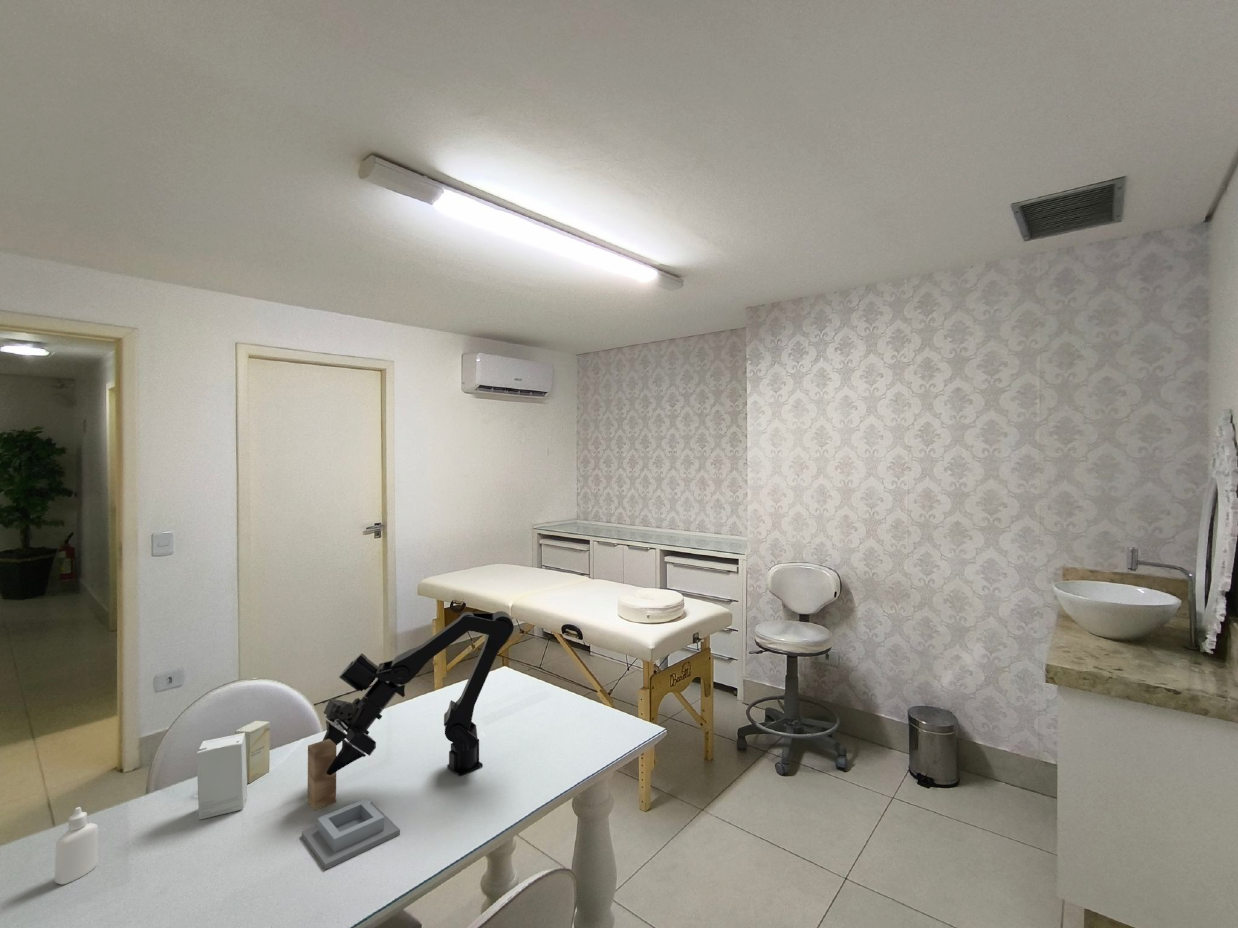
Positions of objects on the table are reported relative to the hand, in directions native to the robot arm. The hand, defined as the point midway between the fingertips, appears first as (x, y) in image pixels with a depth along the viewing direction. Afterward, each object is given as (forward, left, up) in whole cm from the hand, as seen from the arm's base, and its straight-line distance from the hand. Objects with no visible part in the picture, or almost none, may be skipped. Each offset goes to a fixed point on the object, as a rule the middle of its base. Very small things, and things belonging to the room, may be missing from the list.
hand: (321, 766), depth 124 cm
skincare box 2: (+8, -24, -8) cm, 26 cm away
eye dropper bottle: (+39, -8, -8) cm, 41 cm away
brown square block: (0, 0, -8) cm, 8 cm away
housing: (0, +17, -8) cm, 19 cm away
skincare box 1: (+16, -13, -8) cm, 22 cm away
